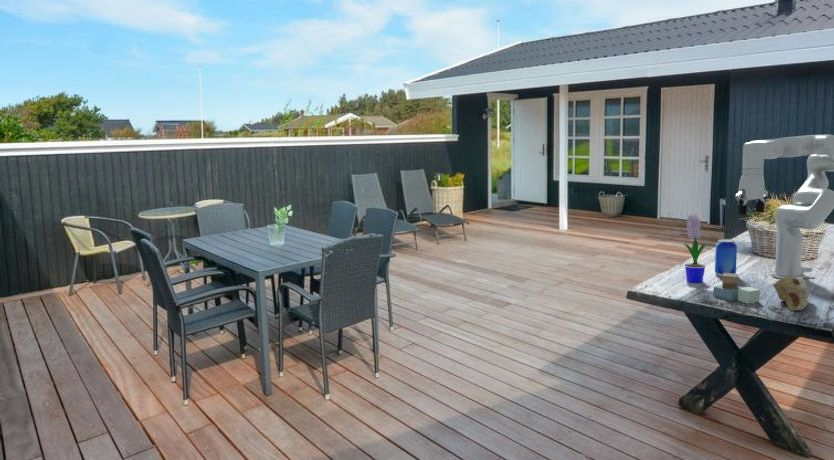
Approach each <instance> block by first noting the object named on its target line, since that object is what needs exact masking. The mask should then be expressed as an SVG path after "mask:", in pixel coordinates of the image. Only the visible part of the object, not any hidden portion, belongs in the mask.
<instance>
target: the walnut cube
mask: <svg viewBox="0 0 834 460" xmlns="http://www.w3.org/2000/svg"><path fill="white" fill-rule="evenodd" d="M738 274H739V273H736V274H733V273H723V276H722V284H721V285H722V288H728V289H737V286H738V280H739V278H738V277H739V275H738Z"/></svg>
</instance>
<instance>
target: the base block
mask: <svg viewBox="0 0 834 460" xmlns="http://www.w3.org/2000/svg"><path fill="white" fill-rule="evenodd" d="M738 288H744V287H742V286H739V285H737V289H728V288H722V284H720V285H715V286H713V294H712V295H713V296H714V297H717V298H721V299H724V298H725V299H724V300H728V299H729V300H728V301H734V300H733V299H735V300H738Z"/></svg>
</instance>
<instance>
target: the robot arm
mask: <svg viewBox="0 0 834 460" xmlns="http://www.w3.org/2000/svg"><path fill="white" fill-rule="evenodd" d="M804 156H808V158H807V160H806V168H807V178H806V179H805V181H804V183H802V185H801V186H800V187H799V188H798V189H797V190H796V192H795V193H794V195H793V196H792V198H791V203H792V204H784V205H781V206H779V207H778V208H777V209H776V210H775V213H774V221H775V226H776V240H775V241H776V245H775V262H774V264H775V265H774V271H773V270H772V271H771V272H770V276H771V277H773V278H774V279H775V278H776V279H779V280H780V279H781V278H784V277H800V278H803V279H805V278H806V275H805V273H812V272H813V268H812V267H811V266H810V267H805V266H802V258H803V242H804V241H803V240H804V239H803V233H802V231H801V229H803V230H815V229H817V228H819V227H820V226H821V225H822V224H823V223H824V221H825V220H826V219H827V217H828V216H829V215H830V214H831V213H832V212H833V210H834V190H832V189H831V188H829V184H830V183H829V179H828V177H827V175H826V172H834V135H833V134H809V135H798V136H786V137H785V136H784V137H780V138H779V137H778V138H769V139H758V140H752V141H750V142H749V141H748V142H744V144H743V147H742V171H741V176H740V178H739V182H738V191H737V193H736V194H735V195H734V197H735V199H736V200H735V201H736V202H737V205H738V215H742V216H746V215H747V209H748V208H747V207H748V206H747V203H748V202H749V201H755V200H756V203H755V212H756V213H761V214H762V213H764V212H765V203H766V200H767V199H768V198H767V197H768V195H769V191H768V190H766V188H765V177H764V169H765V167H764V166H765V165H764V164H765V160H774V159H777V158H795V157H804Z"/></svg>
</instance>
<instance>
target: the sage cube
mask: <svg viewBox="0 0 834 460" xmlns="http://www.w3.org/2000/svg"><path fill="white" fill-rule="evenodd" d="M760 291H761V289H758V288H755V287H751V286H746V287H743V288H738V299H737V301H738V302H740V301H741V303H744V302H745V303H744V304H747V303H748V304H747V305H750V304H749V303H752V304H756V303H755V302H759V303H760V297H761V296H760V295H761V294H760Z"/></svg>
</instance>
